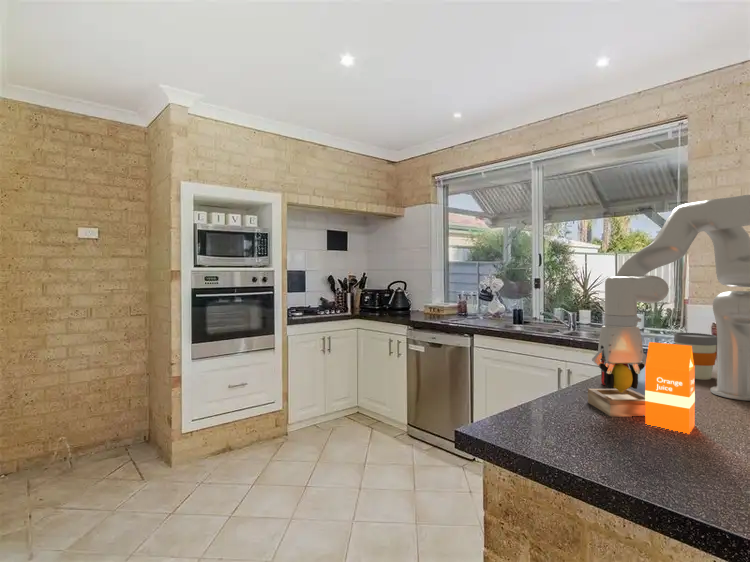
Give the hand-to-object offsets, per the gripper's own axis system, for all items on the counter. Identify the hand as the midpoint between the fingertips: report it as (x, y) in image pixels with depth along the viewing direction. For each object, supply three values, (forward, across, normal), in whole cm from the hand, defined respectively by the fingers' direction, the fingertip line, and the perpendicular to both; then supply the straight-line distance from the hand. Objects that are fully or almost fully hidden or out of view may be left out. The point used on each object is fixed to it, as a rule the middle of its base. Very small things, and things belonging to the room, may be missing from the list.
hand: (620, 386), depth 114 cm
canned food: (+6, -12, -25) cm, 28 cm away
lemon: (+2, 0, 0) cm, 2 cm away
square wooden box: (+6, 0, 0) cm, 6 cm away
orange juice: (+6, -5, +12) cm, 15 cm away
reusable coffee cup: (+6, -47, -37) cm, 60 cm away
